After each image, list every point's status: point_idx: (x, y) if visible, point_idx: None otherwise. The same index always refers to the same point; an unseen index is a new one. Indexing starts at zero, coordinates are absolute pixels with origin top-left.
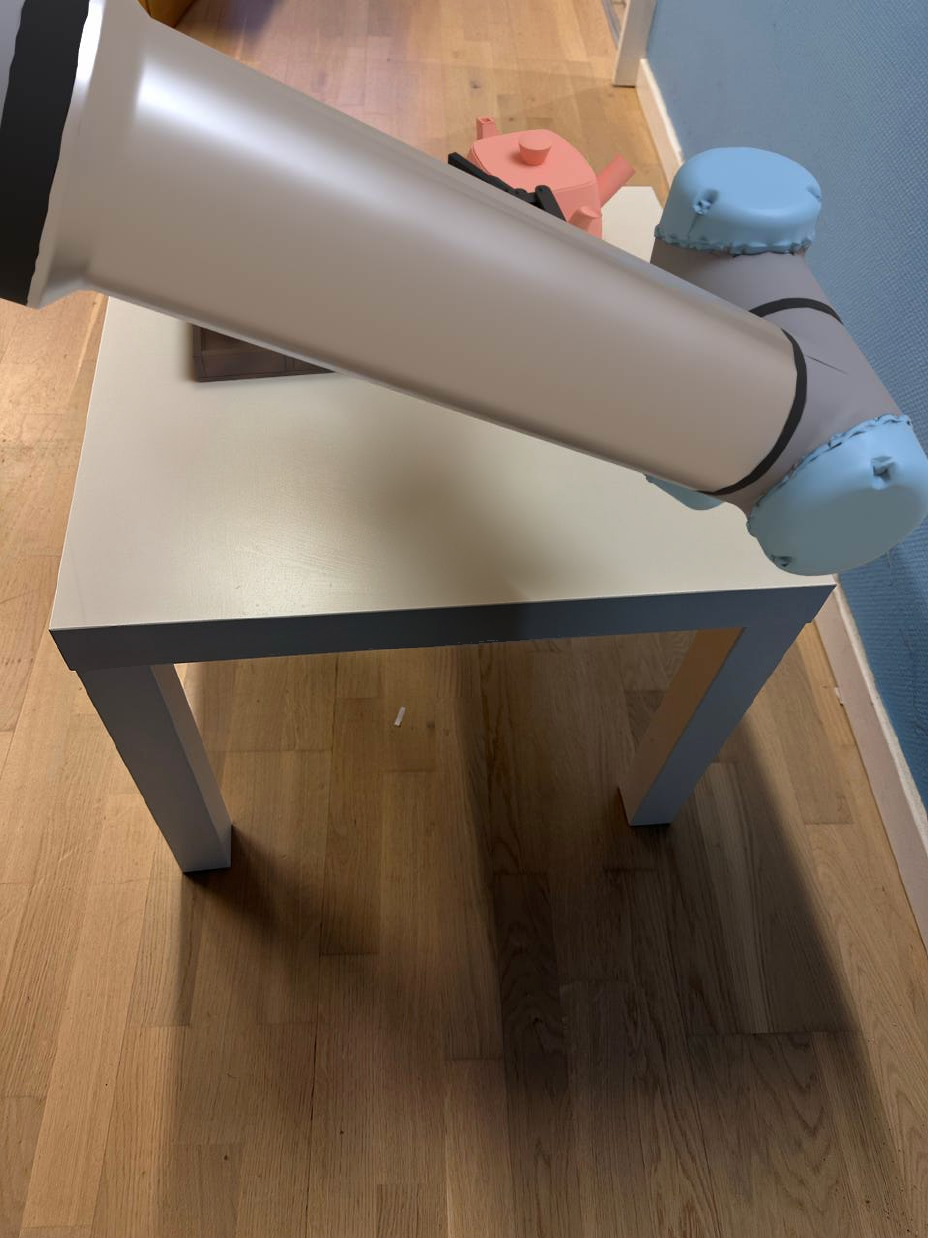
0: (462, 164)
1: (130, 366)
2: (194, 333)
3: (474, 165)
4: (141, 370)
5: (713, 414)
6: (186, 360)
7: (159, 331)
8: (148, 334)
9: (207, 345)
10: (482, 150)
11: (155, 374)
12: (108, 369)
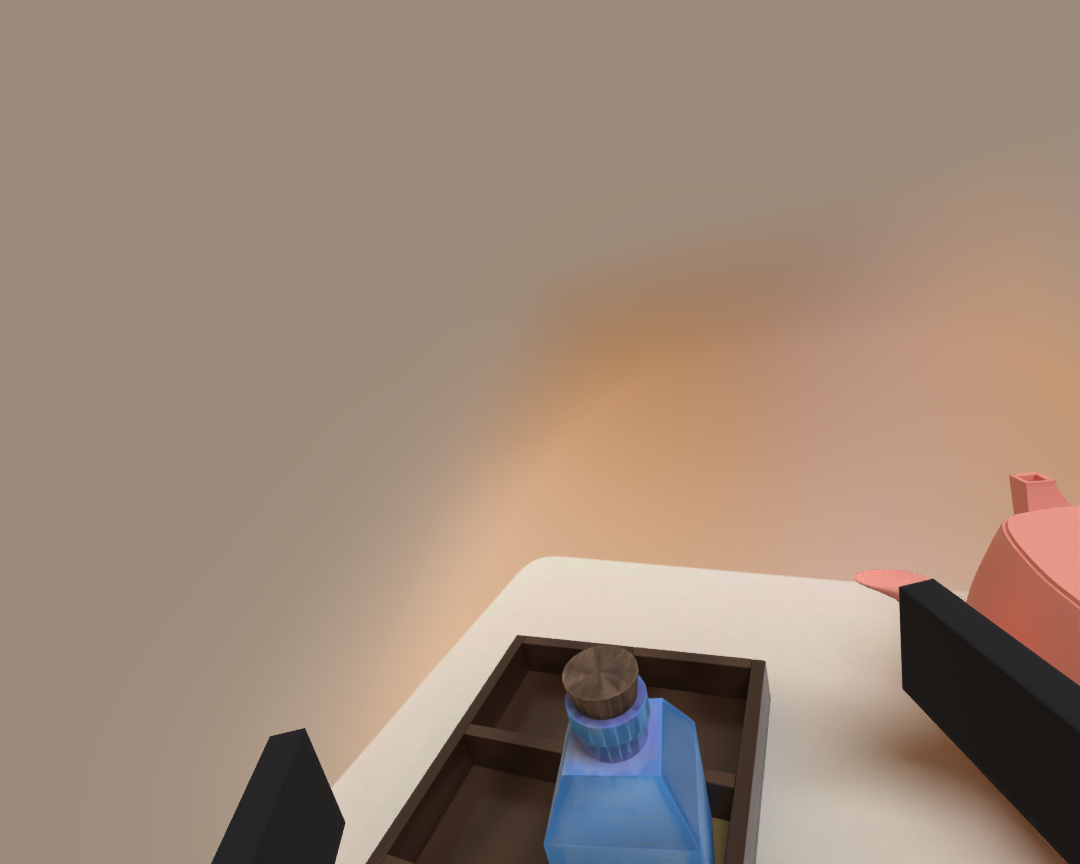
0: (965, 642)
1: None
2: (407, 804)
3: (1032, 655)
4: None
5: None
6: None
7: (417, 759)
8: (401, 761)
9: (445, 818)
10: (1032, 534)
11: (346, 855)
12: None
